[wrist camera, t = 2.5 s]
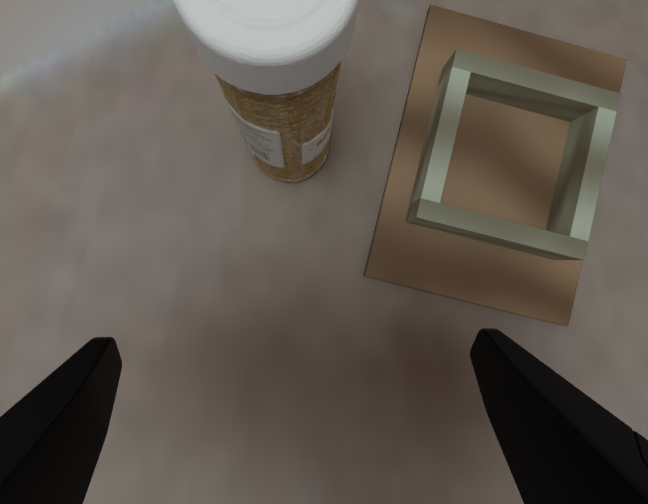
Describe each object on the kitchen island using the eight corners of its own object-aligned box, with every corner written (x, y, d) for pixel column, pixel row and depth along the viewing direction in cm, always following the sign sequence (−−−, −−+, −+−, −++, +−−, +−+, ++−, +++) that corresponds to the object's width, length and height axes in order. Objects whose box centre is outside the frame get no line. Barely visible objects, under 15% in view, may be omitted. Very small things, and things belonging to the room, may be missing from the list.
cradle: (563, 325, 23) (597, 333, 20) (363, 275, 22) (371, 277, 20) (621, 62, 23) (661, 37, 21) (428, 9, 23) (444, -24, 20)
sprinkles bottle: (340, 168, 22) (394, 23, 9) (264, 194, 22) (201, 87, 9) (312, 93, 22) (324, -164, 9) (237, 119, 22) (130, -106, 9)
